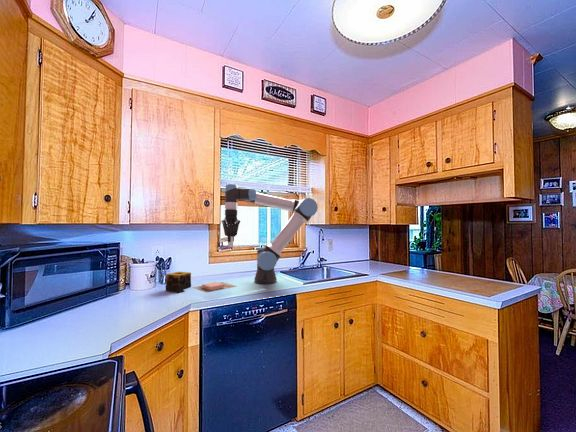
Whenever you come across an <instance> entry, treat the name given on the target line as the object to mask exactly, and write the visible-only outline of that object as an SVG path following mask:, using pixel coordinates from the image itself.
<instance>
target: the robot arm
mask: <svg viewBox="0 0 576 432" xmlns="http://www.w3.org/2000/svg"><path fill="white" fill-rule="evenodd" d="M224 189H225V190H224V191H225V193H224V197H225V198H224V199H225V200H224V201H225V202H224V205H225V207H224V208H225V210H224V215H225V217H224V219H222V220H221V224H222V227H223V234H224V236H226V237H227V243H228V244H227V245H228V246H227V247H228V248H233V247H234V241H235V237H236V236H237V235H238V230H239V226H240V223H241V220H239V219H238V210H237V209H238V201H244V202H245V203H251V204H256V205H260V206H261V205H262V206H266V207H270V208H273V209H279V210H284V211H289V212H290V213H291V214H292V216H291V217H290V218H289V219H288V221H287V222H286V223H285V225H284V226H283V228H282V229H281V230H280V231H279V232H278V234H277V235H276V236H275V238H274V239H273V240H272V242H270V244H266V245H265V246H264V247H257V249H256V253H257V255H256V271H255V272H256V273H255V275H254V276H255V277H254V278H253V280H254V283H256V284H263V285H266V284H274V283H277V280H278V279H277V276H276V275H277V274H276V272H275V266H276V265H277V263H278V261H279V260H280V258H281V257H282V252H283V250H284V249H285V248H286V247H287V245H288V244H289V242H290V241H291V240H292V239H293V237H294V236H295V235H296V234H297V233H298V231H299V230H300V228H302V226H303V225H304V224H305V223H308V222H309V221H310V220H311V218H312V217H314V215H315V214H316V213H317V212H318V210H319V209H318V203H317V201H316V200H315V199H313V198H311V197H304V198H303V199H300V200H299V199H286V198H283V197H278V196H273V195H269V194H265V193H260V192H257V191H258V190H257V189H256V188H254V187H253V188H252V187H247V188H246V187H245V188H244V187H238V184H233V183H232V184H231V183H228V184H226V185H225V188H224Z"/></svg>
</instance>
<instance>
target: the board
mask: <svg viewBox="0 0 576 432" xmlns="http://www.w3.org/2000/svg"><path fill="white" fill-rule="evenodd" d="M219 283H221V284H224V288H222V289H217V290H212V291H210V290H207V289H204V288H202V285H199V286H193V287H192V286H191V287H192V288H193V289H196V290H198V291H201V292H204V293H206V294H207V293H212V292H216V291H221V290H225V289H230V288H237V285H235V284H232V283H228V282H224V281H220V282H219Z"/></svg>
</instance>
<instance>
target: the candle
mask: <svg viewBox="0 0 576 432" xmlns="http://www.w3.org/2000/svg"><path fill="white" fill-rule="evenodd" d="M165 276H166V279H165V281H166V282H165V292H168V293H169V292H170V293H176V294H181V293H183V292H185V290H186V289H189V288H191V287H192V272H187V271H173V272H170V273H165Z"/></svg>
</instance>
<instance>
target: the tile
mask: <svg viewBox="0 0 576 432" xmlns="http://www.w3.org/2000/svg"><path fill="white" fill-rule="evenodd" d="M201 286H202V288H204V289H207V290H210V291H212V290H217V289H222V288H224V284H221V283H220V282H218V281H215V282H209V283H203V284H202V285H201ZM222 290H223V289H222ZM217 291H218V290H217ZM212 292H213V291H212Z"/></svg>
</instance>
